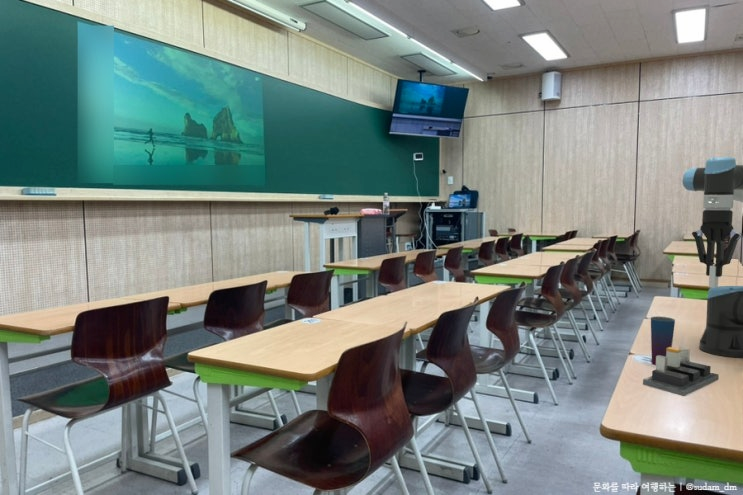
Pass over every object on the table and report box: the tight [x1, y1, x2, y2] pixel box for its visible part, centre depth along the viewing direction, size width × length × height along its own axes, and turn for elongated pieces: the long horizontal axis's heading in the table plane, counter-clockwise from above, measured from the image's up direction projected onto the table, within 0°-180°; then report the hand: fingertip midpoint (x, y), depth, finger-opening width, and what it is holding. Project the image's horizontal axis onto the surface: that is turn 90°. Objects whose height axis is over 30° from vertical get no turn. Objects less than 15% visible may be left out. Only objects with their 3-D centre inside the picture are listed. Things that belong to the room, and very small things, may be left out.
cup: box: [650, 315, 676, 366], centre depth 167 cm, size 7×7×15 cm
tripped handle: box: [666, 346, 681, 368], centre depth 152 cm, size 2×3×5 cm
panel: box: [642, 346, 720, 397], centre depth 151 cm, size 22×11×8 cm, turn 126°
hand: (713, 286), depth 158 cm, fingers closed
